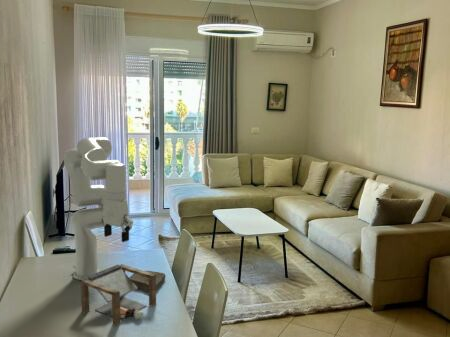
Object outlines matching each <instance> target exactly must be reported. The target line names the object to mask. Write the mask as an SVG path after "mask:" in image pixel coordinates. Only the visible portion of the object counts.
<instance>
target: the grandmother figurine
mask: <svg viewBox="0 0 450 337" xmlns="http://www.w3.org/2000/svg"><path fill="white" fill-rule="evenodd" d="M111 313H112V309H111ZM120 315H121V316H120V318H124V319H128V318H130V317H131V318H132V317H134V319H135V320H137V321H138V320H140V319H141V318H143V316H144V312H143V311H142V310H139V311H138V310H135V309H132V308H130V309H125V308H122V307H120Z"/></svg>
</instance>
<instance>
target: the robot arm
mask: <svg viewBox="0 0 450 337" xmlns="http://www.w3.org/2000/svg"><path fill="white" fill-rule="evenodd" d="M112 148H113V146H112V143H111V141H110V140H109V138H107V137H104V136H97V137H95V136H94V137H84V138H81V139H80V140H79V141H78V142H77V144H76V148H74V147H73V148H69V149H67V150H66V151H64V154H63V163H64V167H65V170H66V172H67V174H68V176H69V179H70V186H71V194H72V201H73V204H74V206H76V207H91V206H97V207H95V208H86V209H80V210H76V211H75V212H74V213H73V214H72V216H71V222H72V227H73V231H74V240H75V241H74V243H75V261H76V262H75V264H74V265H73V266H72V268H73V269H75V271H74V273H73V278H74V279H75V280H78V281H81V280H83V279H86V280H88V277H89V276H90V275H92V274H95V273H98V272H100V271H102V270H101V269H99V267H98V266H99V263H98V238H97V237H96V235H95V234H94V232H92V230H97V229H100V228H101V229H102V228H103V230H104V232H103V233H104V235H103V236H104V237H105V238H106V237H110V236H112V234H113V233H112V232H113V231H112V230H113V229H112V228H113V227H117V228H120V229H121V230H122V231H121V242H122V243H125V242H128V241H129V240H130V231H131V229H132V227H133V225H134V221H133V220H132V219H131V218H130V216H129V215H130V214H129V213H130V212H129V206H128V200H127V176H126V175H127V174H126V173H127V171H126V170H127V169H126V165H125V164H124V163H122V162H121V161H120V160H118V159H108V158H109V157H110V155H111V154H112V151H113V149H112ZM103 180H105V182H104V183H105V185H103V184H91V181H103Z"/></svg>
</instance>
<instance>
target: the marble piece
mask: <svg viewBox="0 0 450 337" xmlns="http://www.w3.org/2000/svg"><path fill="white" fill-rule="evenodd" d="M145 271H146V272H149V273H152V274H155V275H156V292H157V291H158V290H159V289H160V288H159V287H161V286H162V285H161V284H164V283H165V280H166V273H163V272H159V271H153V270H145ZM128 277H129V278H130V279H131V281H132V282H133V283H134V284H135V285H136V287H137V289H136V290H135V291H140V292H143V293H145V294H149V278H147V277H144V276H141V275H138V274H135V273H132V275H130V276H128Z"/></svg>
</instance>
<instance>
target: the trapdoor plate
mask: <svg viewBox="0 0 450 337" xmlns="http://www.w3.org/2000/svg"><path fill="white" fill-rule="evenodd" d="M119 265H120V264H116V265H113V266H111V267H108V268H105V269H103V270H101V271H100V272H98V273H95V274H92V275H90V276H89V277H88V280H89V281H91V280H93V279H96V278H98V277H101V276H103V275H106V274H108V273H111V272H113V271H116V270H118V269H120V266H119ZM129 277H130V276H128V275H127V274H126V271H125V272H124V271H123V270H122V269H121V270H119V271H116V272H114V273H111V274H109V275H107V276H104V277H102V278H99V279H97V280H94V281H92V282H95V283H98V284H101V285H103V286H106V287H109V288H112V289H115V290H117V291H120V297H124V296H126V295H128V294H130V293H132V292H134V291H137V290H136V289H137V287H136V285H135V284H134V283H133V282H132V281H131V279H130V278H129ZM97 292H98V293H99V294H100V295H101V297H102V298H103V299H104V301H105V302H106V304H108V303H110V302H112V295H110V294H108V293H105V292H102V291H100V290H97Z"/></svg>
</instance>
